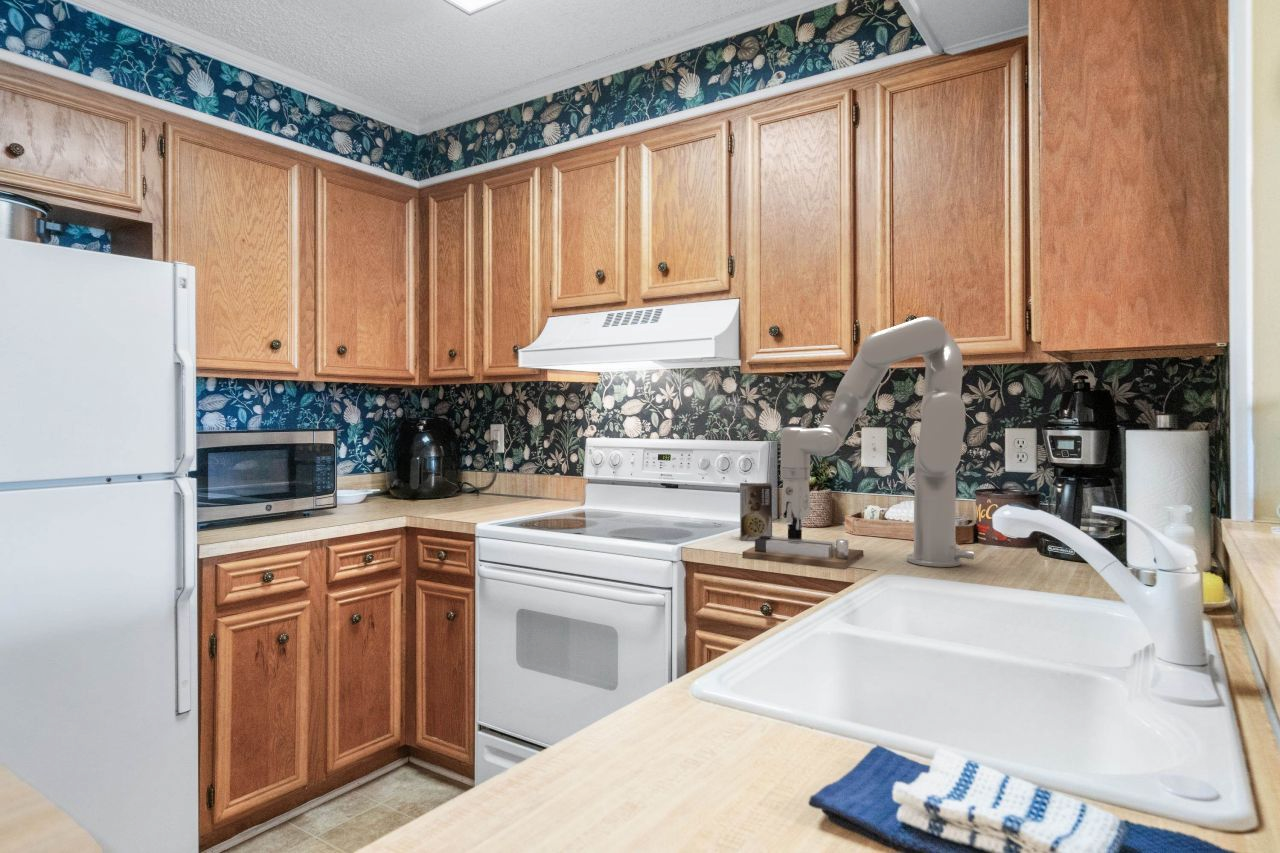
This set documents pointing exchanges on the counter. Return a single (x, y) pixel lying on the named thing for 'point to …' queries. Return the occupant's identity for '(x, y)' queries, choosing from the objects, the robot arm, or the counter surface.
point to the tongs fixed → (802, 548)
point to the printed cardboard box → (755, 510)
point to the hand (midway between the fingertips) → (794, 544)
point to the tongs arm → (802, 541)
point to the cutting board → (805, 558)
